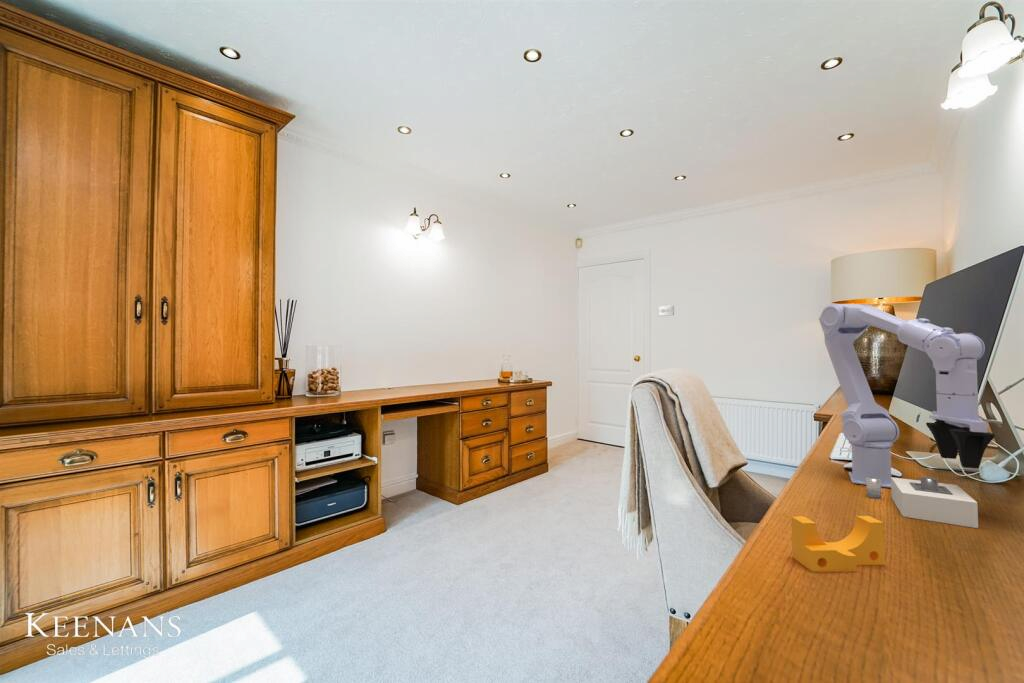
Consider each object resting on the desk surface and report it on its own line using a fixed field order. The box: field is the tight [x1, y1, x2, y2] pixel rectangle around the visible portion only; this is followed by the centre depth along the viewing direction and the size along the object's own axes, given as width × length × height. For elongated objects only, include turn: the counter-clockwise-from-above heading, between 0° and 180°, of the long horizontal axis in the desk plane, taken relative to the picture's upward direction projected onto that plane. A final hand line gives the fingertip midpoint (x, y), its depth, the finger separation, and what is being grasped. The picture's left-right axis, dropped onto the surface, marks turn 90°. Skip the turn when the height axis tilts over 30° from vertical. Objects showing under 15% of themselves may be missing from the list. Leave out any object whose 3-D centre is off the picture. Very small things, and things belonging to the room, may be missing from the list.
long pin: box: [920, 476, 939, 491], centre depth 84 cm, size 2×2×6 cm
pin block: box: [890, 476, 979, 529], centre depth 83 cm, size 12×10×5 cm
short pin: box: [866, 477, 882, 500], centre depth 92 cm, size 2×2×4 cm
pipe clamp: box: [791, 515, 885, 573], centre depth 64 cm, size 12×4×6 cm, turn 90°
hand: (958, 462), depth 84 cm, fingers open, 7 cm apart
